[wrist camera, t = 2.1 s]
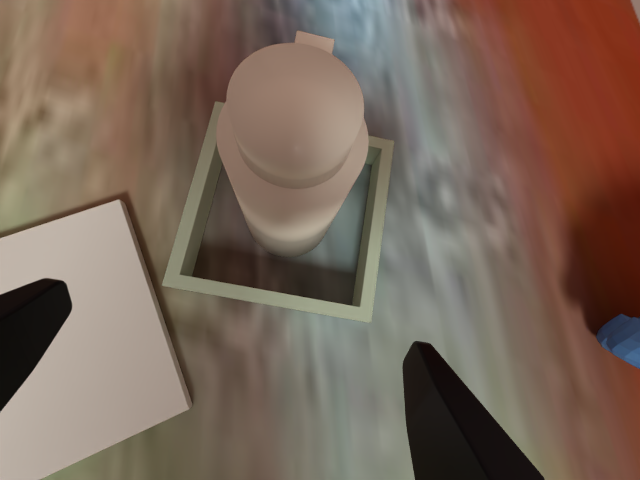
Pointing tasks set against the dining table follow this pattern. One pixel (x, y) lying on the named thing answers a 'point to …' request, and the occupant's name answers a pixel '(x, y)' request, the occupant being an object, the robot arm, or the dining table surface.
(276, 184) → the pink plastic bottle
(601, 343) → the blue flower rosette
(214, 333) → the dining table surface
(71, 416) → the plate
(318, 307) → the holder
